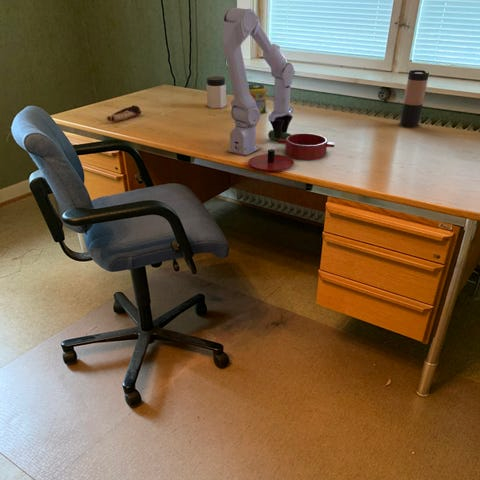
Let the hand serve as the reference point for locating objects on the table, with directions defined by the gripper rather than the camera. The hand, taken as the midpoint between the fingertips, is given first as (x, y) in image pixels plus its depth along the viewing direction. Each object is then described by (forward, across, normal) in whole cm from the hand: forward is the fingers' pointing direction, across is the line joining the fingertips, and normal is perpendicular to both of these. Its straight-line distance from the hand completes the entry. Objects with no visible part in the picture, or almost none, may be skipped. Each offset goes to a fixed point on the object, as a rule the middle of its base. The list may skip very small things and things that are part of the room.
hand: (280, 136), depth 186 cm
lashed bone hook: (+2, -12, +73) cm, 74 cm away
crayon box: (+2, +29, +30) cm, 42 cm away
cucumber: (+2, 0, 0) cm, 2 cm away
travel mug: (+2, +48, -33) cm, 58 cm away
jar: (+2, +28, +52) cm, 59 cm away
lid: (+1, -24, -11) cm, 26 cm away
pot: (+2, -7, -15) cm, 17 cm away
